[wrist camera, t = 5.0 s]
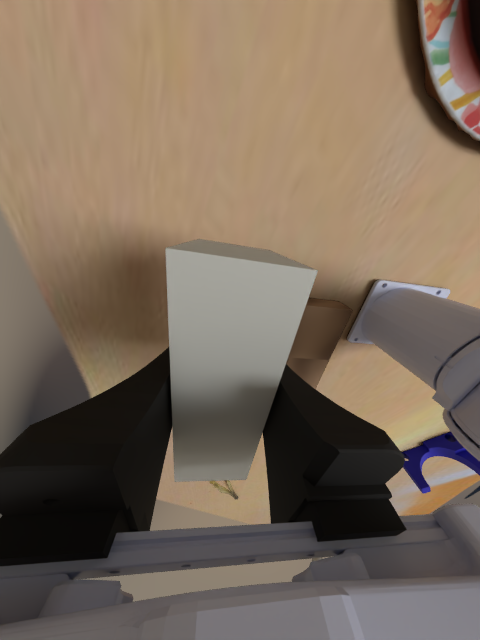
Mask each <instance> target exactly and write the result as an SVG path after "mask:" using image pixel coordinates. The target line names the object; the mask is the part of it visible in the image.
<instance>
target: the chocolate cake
mask: <svg viewBox="0 0 480 640" xmlns="http://www.w3.org/2000/svg"><path fill="white" fill-rule="evenodd" d="M416 2H417V7H418V27H419V33H420V48H421V50H422V52H423V58H424V61H425V68H426V72H425V89H426V92H427V94H428V95H429V96H430V97H432V98H435V99H436V100H437V101H438V102H439V104H440V105H441V106H442V108H443V110H444V111H445V113H446V115H447V118H448V119H449V120H453V121H455V123H456V124H457V127H458V130H463V131H465V132H466V133H468V134H469V135H470V136H471V137H472V140H477V141H480V0H416Z"/></svg>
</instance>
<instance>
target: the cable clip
mask: <svg viewBox="0 0 480 640" xmlns="http://www.w3.org/2000/svg"><path fill="white" fill-rule="evenodd" d="M402 454H403V455H404V458H407V459H408V460H409V461H405V462H404V465H403V468H404V469H405V471H406V472H407V473H408V475H409V476H410V477H411V479H412V480H413V481H414V483H415V484H416V485H417V487H418V488H419V489H420V491H421V492H422V493H427V492H430V487H429V485H428V484H427V482H426V481H425V479H424V477H423V475H422V464H423V463H424V461H425V460H426V459H428V458H430V457H433V456H444V457H448V458H452V459H455V460H457V461H459V462H461V463H463V464H465V465H467V466H468V467H470V468H471V469H472V470H474V471H475V472H476V473H477V474H478V475H480V461H479V460H477V459H476V458H475V457H474V456H473V455H471V454H470V453H469V452H468V451H467V450H466V449H465V448H464V447H463V446H462V445H461V444H460V443H459V442H458V440H457V439H456V438H455V437H454V435H453V434H452V432H448V433H446V434H443V435H440V436H437V437H435V438H432V439H429V440H426V441H423V445H421V446H418V447H416V448H413V449H410V450H407V451H404V452H402Z"/></svg>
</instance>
